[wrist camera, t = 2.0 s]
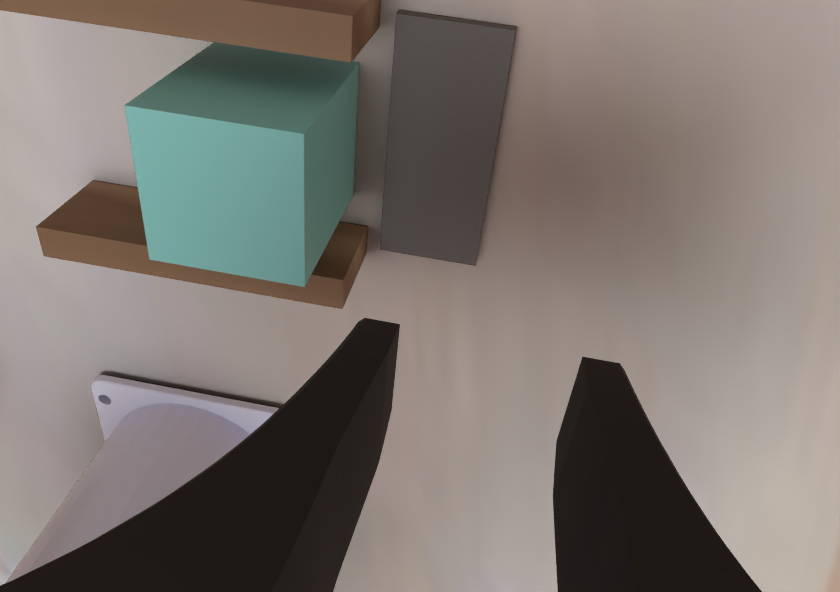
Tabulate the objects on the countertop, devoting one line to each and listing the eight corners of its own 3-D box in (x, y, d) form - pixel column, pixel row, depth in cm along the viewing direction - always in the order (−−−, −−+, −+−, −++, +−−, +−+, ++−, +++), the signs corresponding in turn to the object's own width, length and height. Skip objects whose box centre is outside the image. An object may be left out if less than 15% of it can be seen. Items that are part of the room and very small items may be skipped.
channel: (366, 253, 22) (342, 308, 20) (98, 207, 23) (43, 256, 20) (381, -15, 17) (352, 16, 15) (43, -62, 18) (-36, -40, 16)
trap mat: (477, 258, 22) (475, 265, 21) (382, 242, 22) (379, 249, 22) (516, 26, 17) (515, 30, 17) (399, 9, 18) (396, 13, 17)
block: (353, 194, 21) (304, 287, 17) (227, 173, 21) (149, 259, 17) (359, 62, 19) (304, 133, 15) (216, 40, 19) (124, 105, 15)
